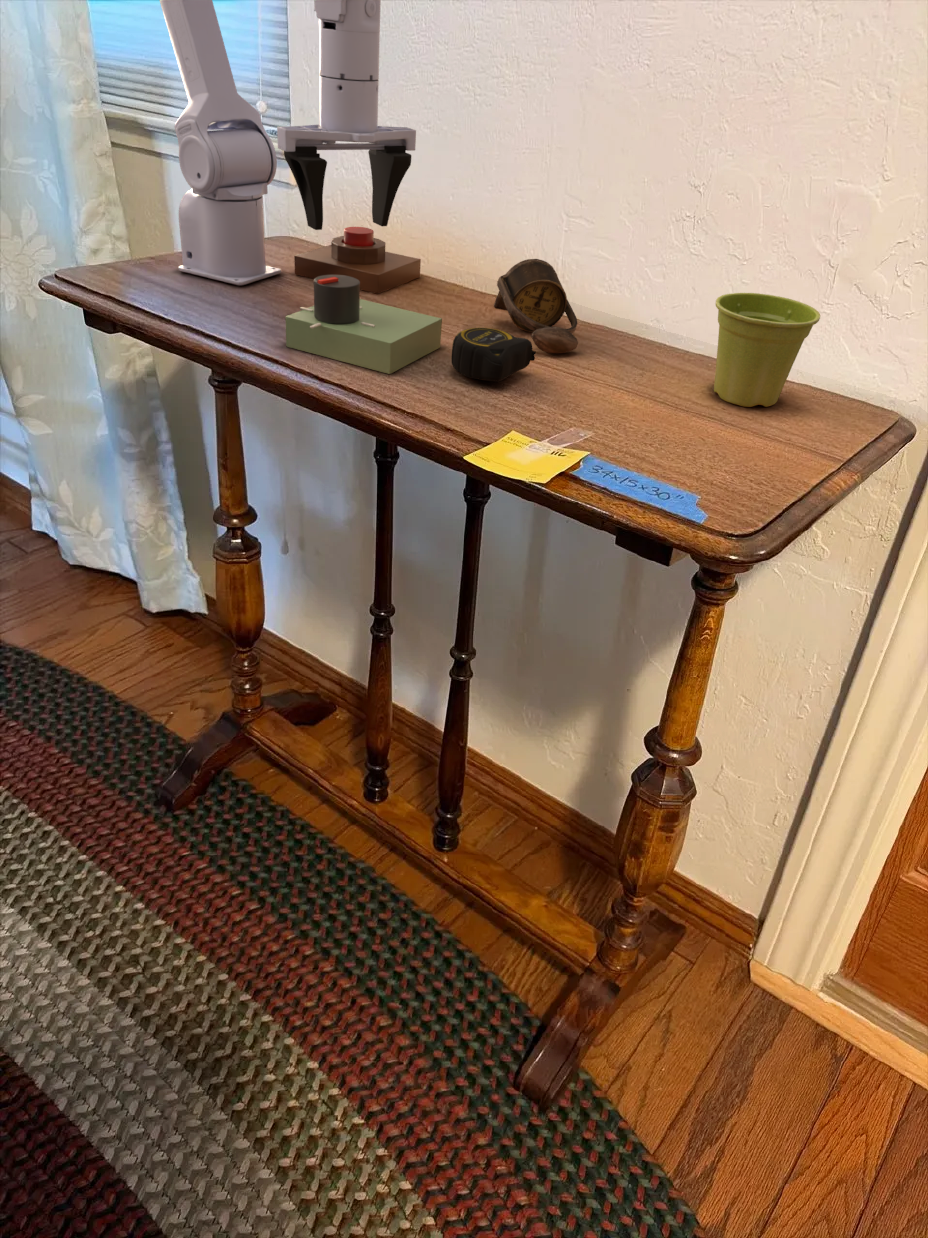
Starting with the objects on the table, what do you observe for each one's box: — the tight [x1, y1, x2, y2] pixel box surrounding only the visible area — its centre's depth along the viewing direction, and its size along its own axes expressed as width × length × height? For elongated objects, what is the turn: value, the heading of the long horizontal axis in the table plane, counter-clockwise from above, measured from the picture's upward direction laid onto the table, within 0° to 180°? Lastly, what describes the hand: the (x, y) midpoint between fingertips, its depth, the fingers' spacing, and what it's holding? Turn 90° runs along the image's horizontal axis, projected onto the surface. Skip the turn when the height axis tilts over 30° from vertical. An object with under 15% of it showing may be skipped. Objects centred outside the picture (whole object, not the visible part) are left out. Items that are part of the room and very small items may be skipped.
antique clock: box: [493, 258, 579, 354], centre depth 99 cm, size 7×13×10 cm
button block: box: [293, 235, 422, 294], centre depth 114 cm, size 12×10×4 cm
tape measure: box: [451, 327, 537, 382], centre depth 88 cm, size 7×7×4 cm
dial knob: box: [313, 275, 361, 324], centre depth 90 cm, size 4×4×4 cm
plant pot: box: [713, 292, 821, 408], centre depth 88 cm, size 9×9×9 cm
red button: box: [343, 226, 375, 246], centre depth 112 cm, size 4×4×2 cm
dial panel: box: [284, 298, 443, 375], centre depth 92 cm, size 12×11×3 cm
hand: (348, 225), depth 98 cm, fingers open, 7 cm apart
